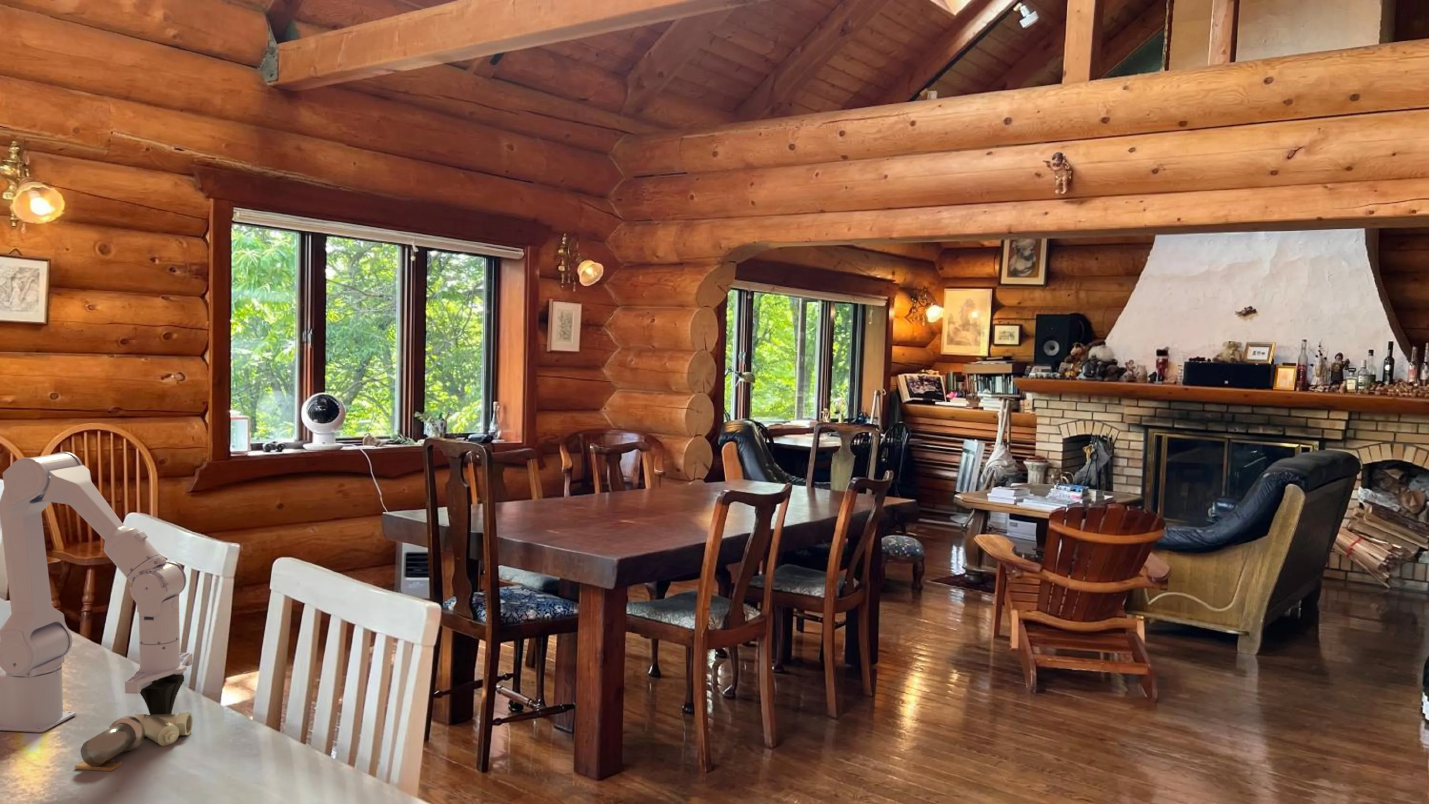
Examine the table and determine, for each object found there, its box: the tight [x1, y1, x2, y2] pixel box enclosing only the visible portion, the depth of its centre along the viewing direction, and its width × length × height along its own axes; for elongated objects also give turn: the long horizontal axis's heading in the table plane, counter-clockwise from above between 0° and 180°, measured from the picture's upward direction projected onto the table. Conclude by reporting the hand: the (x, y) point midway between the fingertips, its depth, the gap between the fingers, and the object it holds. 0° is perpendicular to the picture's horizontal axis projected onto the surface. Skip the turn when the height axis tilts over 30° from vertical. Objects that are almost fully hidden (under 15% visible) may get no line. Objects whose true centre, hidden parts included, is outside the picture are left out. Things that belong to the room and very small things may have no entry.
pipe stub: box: [74, 715, 145, 772], centre depth 153 cm, size 8×6×5 cm
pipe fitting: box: [133, 712, 194, 747], centre depth 161 cm, size 8×4×7 cm
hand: (161, 722), depth 165 cm, fingers closed
